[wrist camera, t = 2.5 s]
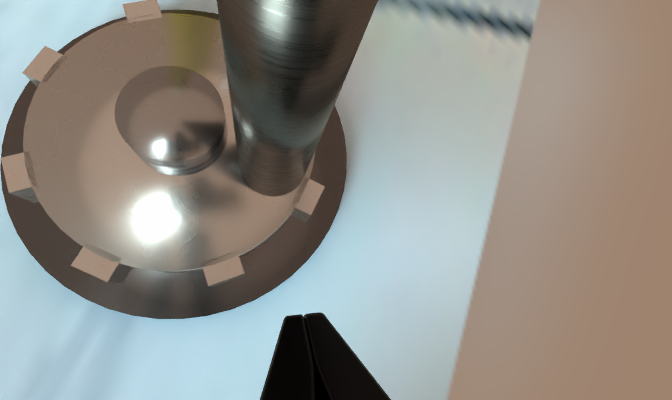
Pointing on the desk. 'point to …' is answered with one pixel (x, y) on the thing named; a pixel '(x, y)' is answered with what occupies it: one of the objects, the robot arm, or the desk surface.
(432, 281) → the desk surface
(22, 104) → the base plate
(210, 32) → the sprocket
